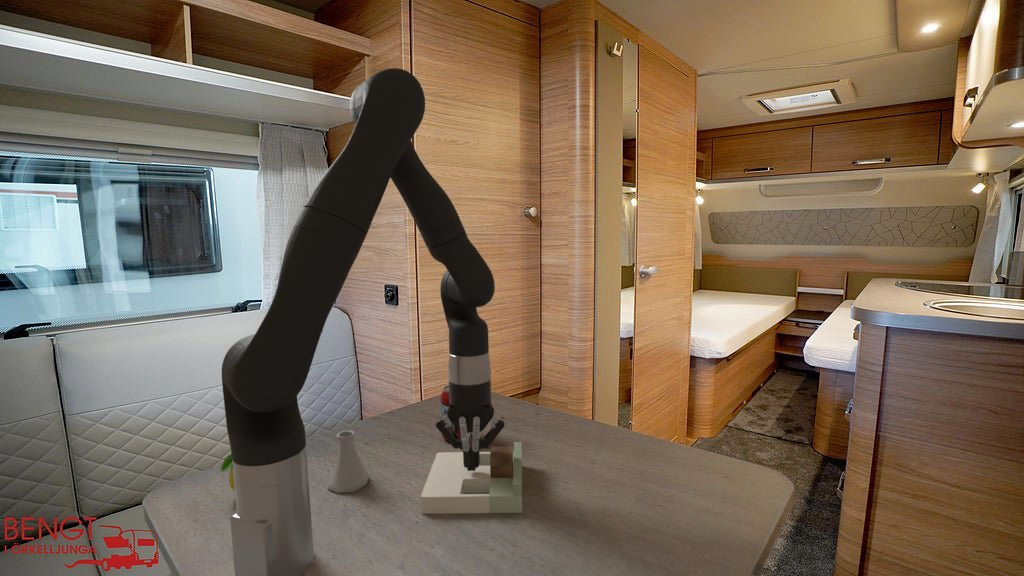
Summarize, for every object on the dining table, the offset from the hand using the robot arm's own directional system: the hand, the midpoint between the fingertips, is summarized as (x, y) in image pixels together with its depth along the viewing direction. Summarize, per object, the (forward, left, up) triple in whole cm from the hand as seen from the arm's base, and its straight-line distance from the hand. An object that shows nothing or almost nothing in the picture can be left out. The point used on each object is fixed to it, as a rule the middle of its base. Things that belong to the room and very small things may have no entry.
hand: (472, 468), depth 88 cm
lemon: (-15, +38, -4) cm, 41 cm away
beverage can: (+19, +13, -4) cm, 23 cm away
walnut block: (+2, -5, -1) cm, 6 cm away
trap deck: (0, 0, -4) cm, 4 cm away
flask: (-6, +23, -4) cm, 24 cm away
